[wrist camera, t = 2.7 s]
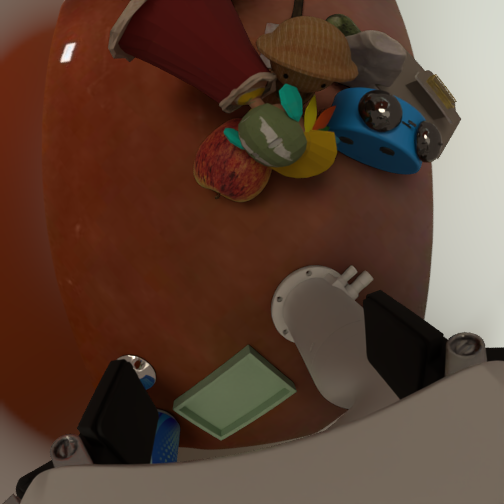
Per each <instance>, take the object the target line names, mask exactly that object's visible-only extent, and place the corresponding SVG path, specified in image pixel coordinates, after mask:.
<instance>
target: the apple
mask: <svg viewBox="0 0 504 504" xmlns="http://www.w3.org/2000/svg"><path fill="white" fill-rule="evenodd" d="M241 120H242V118H235V119H231V120H229V121H227V122H225V123H224V124H222V125H221V126H219V127H218V128H217V129H216V130H214V131H213V132H212V133H211V134H210V135H209V136H208V137H207V138H206V139H205V140H204V141H203V143H202V144H201V146H200V147H199V149H198V151H197V154H196V157H195V161H194V169H193V170H194V176H195V179H196V181H197V183H198V184H199V185H200V186H202V187H204V188H207V189H210V190H213V191H216V192H217V193H218V194H217V195H216V197H215V198H216V199H219V196H220V195H222V196H224V197H226V198H228V199H230V200H232V201H236V202H245V201H249V200H251V199H253V198H254V197H256V196H257V195H258V194H259V193H260V192H261V191H262V190H263V189H264V187H265V186H266V184H267V182H268V180H269V177H270V175H271V171H272V168H270V167H268V166H264V165H262V164H260V163H258V162H256V161H255V160H254V159H253V158H252V157H251V156H250V155H249V154H248V153H247V152H246V150H244V149H240V148H239V147H237V146H235V145H234V144H232V143H230V141H229V140H228V139H227V137H226V136H225V135H224V129H225V128H232V129H235V130H237V131H238V124H239V123H240V121H241Z"/></svg>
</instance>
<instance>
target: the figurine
mask: <svg viewBox="0 0 504 504" xmlns="http://www.w3.org/2000/svg"><path fill="white" fill-rule="evenodd" d="M256 45H257V48H258V50H259V51H260V53H262V54H263V55H264V56H265V57H266V58H267V59H269V60H270V65H271V69H272V70H271V71H270V72H271V73H273V72H274V73H275V74H276V75H277V80H276V91H274V92H272V93H271V94H269V95H267V96H266V97H264V98H263V99H262V100H263V102H264V103H265V104H266V103H269V104H271V105H273V104H281V100H280V95H279V90H280V89H281V88H282V87H283V86H284V85H285V84H289V85H292V86H294V87H297V89H298V91H299V93H300V96H301V98H302V106H303V105H304V103H306V102H307V101H309V100H310V99H311V98H312V97H313V95H314V94H315V92H317V91H321V90H323V89H325V88H327V87H328V86H330V85H331V84H332V83H333V82H341V83H342V82H348V81H353V80H354V79H355V78H356V77H357V76H358V74H359V73H358V68H357V66H356V65H355V63H354V62H353V61H352V60H351V52H350V47H349V44H348V41H347V39H346V38H345V36H344V34H343V33H342V32H341V31H340V30H339V29H338V28H337V27H335V26H334V25H332V24H331V23H329V22H327V21H325V20H322V19H320V18H315V17H310V16H300V17H293V18H291V19H288V20H286V21H284V22H283V23H281V24H280V25H279V26H278V27H277V28H276V29H275V30H274V31H273V32H272V33H267V34H265V35H262V36H260V37H259V38H258V40H257V42H256Z"/></svg>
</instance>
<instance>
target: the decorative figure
mask: <svg viewBox="0 0 504 504" xmlns="http://www.w3.org/2000/svg"><path fill="white" fill-rule="evenodd" d="M108 48H109V50H110V52H111V54H112V56H113V58H126V59H127V60H128V61H129V62H131V61H132V60H133V59H134V58H135V57H136V58H139V59H141V60H143V61H145V62H148V63H150V64H152V65H154V66H156V67H158V68H160V69H162V70H164V71H166V72H168V73H170V74H172V75H174V76H175V77H177V78H179V79H181V80H183V81H185V82H187V83H188V84H190V85H192V86H194V87H196V88H197V89H199V90H200V91H202V92H203V93H205V94H206V95H208V96H209V97H210V98H212V99H213V100H215V101H216V102H218V103H219V106H220V107H221V108H222V111H224V112H226V113H231V112H233V111H235V110H237V109H238V108H240V107H241V106H242V105H249V106H250V107H251V108H252V109H250V110H249V112H248V113H247V114H246V115H245V116H244V117H243V118H242V120H241V121H240V123H239V124H238V131H237V130H235V129H232V128H225V129H224V135H225V136H226V137H227V139H228V140H229V141H230V143H232V144H234V145H235V146H237V147H239V148H240V149H244V150H246V152H247V153H248V154H249V155H250V156H251V157H252V158H253V159H254V160H255V161H256V162H258V163H260V164H262V165H264V166H268V167H270V168H272V169H273V170H275V171H277V172H278V173H280V174H282V175H284V176H287V177H293V178H307V177H311V176H315V175H318V174H320V173H322V172H324V171H326V170H327V169H328V168H329V167H330V166H331V165H332V164H333V163H334V160H335V157H336V154H337V146H336V145H337V144H338V143H339V142H340V139H339V138H338V137H337V136H335V133H334V132H330V131H328V130H329V129H330V127H328V126H327V124H328V122H329V121H330V119H331V117H332V115H333V113H334V110H335V108H336V105H335V106H332V107H330V108H328V109H326V110H324V111H323V112H322V113H321V114H320V115H319V117H318V119H317V106H316V97H315V95H314V96H313V97H312V99H311V100H310V102H309V104H308V106H307V108H306V111H305V115H304V118H303V116H302V114H303V111H302V98H301V96H300V93H299V91H298V89H297V87H294V86H292V85H289V84H285V85H284V86H283V87H282V88H281V89H280V90H279V95H280V100H281V104H273V105H271V104H269V103H266V104H265V103H264V102H263V100H262V99H263V98H264V97H266V96H267V95H269V94H271V93H272V92H274V91H276V80H277V75H276V74H275V73H274V72H273V73H271V72H270V71H269V70H268V68H267V67H266V65H265V64H264V62H263V60H262V59H261V57H260V56H259V55H258V53H257V52H256V50H255V49H254V47H253V46H252V44H251V42H250V40H249V38H248V36H247V33H246V31H245V29H244V27H243V25H242V23H241V20H240V18H239V16H238V14H237V12H236V10H235V8H234V6H233V4H232V2H231V0H131V1H130V3H129V4H128V6H127V7H126V9H125V10H124V12H123V13H122V15H121V16H120V17H119V19H118V20H117V22H116V23H115V25H114V27H113V28H112V30H111V32H110V40H109V46H108ZM316 119H317V120H316Z"/></svg>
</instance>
